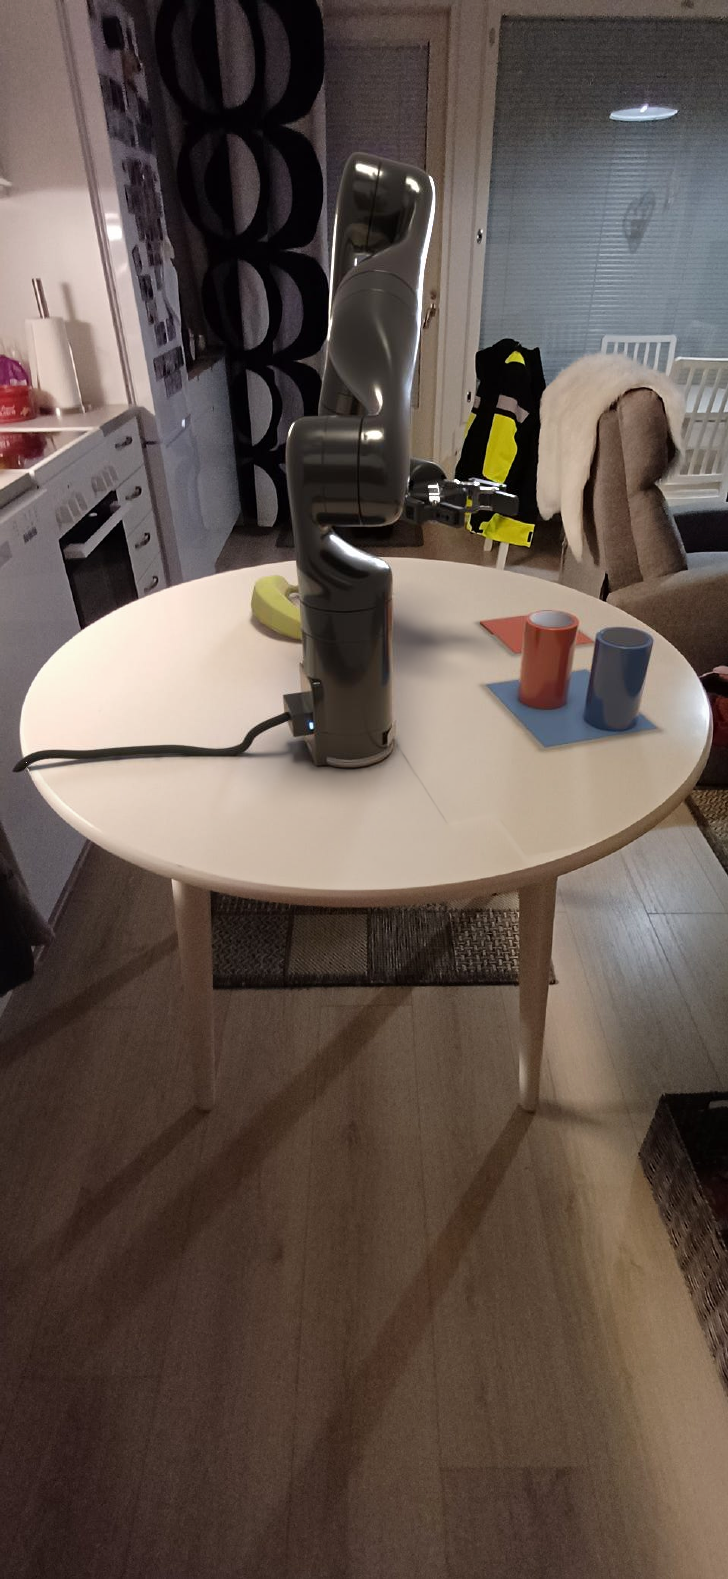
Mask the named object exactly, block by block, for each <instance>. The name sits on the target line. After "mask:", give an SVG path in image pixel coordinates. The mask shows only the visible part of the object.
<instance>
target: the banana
mask: <svg viewBox="0 0 728 1579" xmlns="http://www.w3.org/2000/svg"><path fill="white" fill-rule="evenodd" d="M291 594H299V589H298V585H293V584H290V583H289V582H288V580H287V579H286V578H285V577H284V576H283V575H279V574H272V575H268V576H263V577H260V578H259V579H257V580H256V581H255V583H254V586H253V590H252V596H251V600H250V608H251V611H252V613H253V615H254V616H255V617H256V618H257V619H258V620H259V621H260V622H261V623H262V624H263V625H265V626H266V627H268V628H270V629H271V630H273V631H274V632H276V633H277V634H280V635H282V636H285V637H287V638H291V639H294V640H298V641H299V640H300V641H302V632H301V617H300V607H297V606H296V605H294V603H292V602H291V601H290V600H289V598H290V595H291Z"/></svg>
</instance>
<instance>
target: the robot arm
mask: <svg viewBox="0 0 728 1579" xmlns="http://www.w3.org/2000/svg"><path fill="white" fill-rule="evenodd" d="M435 207H436V191H435V184H434V181H433V178H432V177H431V175H430V174H429V173H428V172H426V170H424V169H422V168H420V167H418V166H416V165H412V164H409V163H405V162H401V161H397V160H393V159H389V158H385V157H381V156H378V155H376V154H375V155H374V154H371V153H367V152H363V151H362V152H361V151H355V152H353V153H351V154H350V155H349V157H348V158H347V160H346V162H345V164H344V167H343V170H342V173H341V177H340V180H339V186H338V190H337V196H336V204H335V210H334V220H333V232H332V233H333V235H332V246H331V258H330V259H331V260H330V276H329V295H328V318H327V319H328V322H327V323H328V324H327V327H328V328H327V336H326V337H327V338H326V354H325V362H324V368H323V374H322V382H321V388H320V395H319V402H318V408H317V409H318V410H317V411H318V412H317V414H318V415H304V416H300V417H298V418H296V419H295V420H294V421H293V422H292V424H291V426H290V427H289V430H288V434H287V437H286V442H285V472H286V473H285V474H286V485H287V495H288V501H289V508H290V517H291V524H292V534H293V543H294V554H295V568H296V576H297V586H298V589H299V593H298V600H299V601H298V602H299V609H300V617H301V632H302V640H301V646H302V660H301V661H300V662H299V665H298V666H299V667H298V668H299V678H300V691H299V692H293V693H286V694H283V695H282V699H283V700H282V701H283V713H281V714H277V715H275V716H273V717H270V718H268V719H266V720H264V721H261V722H260V723H258V724H256V725H255V726H254V727H252V728H251V729H250V730H248V732H247V734H246V735H245V736H244V739H243V740H242V742H241V743H238V744H236V745H233V746H230V747H223V748H214V747H213V748H212V747H202V746H194V745H186V744H152V745H151V744H150V745H132V746H131V745H130V746H117V747H106V748H105V747H104V748H97V749H96V748H95V749H43V750H38V751H35V752H32V753H30V754H27V755H25V756H24V757H22V758H21V759H20V760H19V761H18V762H16V764H15V765H14V767H13V769H12V772H13V773H21V772H24V771H25V769H27V768H28V767H29V766H31V765H33V764H34V763H37V762H41V761H44V760H52V759H55V760H58V759H59V760H94V759H103V758H104V759H105V758H117V757H128V756H143V755H145V756H146V755H147V756H148V755H164V754H165V755H166V754H167V755H168V754H169V755H172V754H176V755H188V756H197V757H233V756H237V755H241V754H243V753H245V752H246V751H248V750H249V748H250V747H251V746H252V744H253V743H254V740H255V739H256V738H257V737H258V736H259V735H261V734H263V733H265V732H267V731H268V730H271V729H272V728H275V727H277V726H280V725H282V724H284V723H287V725H288V727H289V730H290V732H291V734H292V737H293V738H299V737H304V742H305V744H306V746H307V749H308V752H309V754H310V755H311V758H312V760H313V762H314V764H315V765H316V766H317V767H319V766H324V765H325V766H327V765H328V766H332V767H337V768H360V767H365V766H369V765H374V764H376V763H378V762H380V761H382V760H384V759H386V758H387V757H388V756H389V755H390V754H391V753H392V751H393V748H394V737H395V734H396V733H397V719H395V720H394V722H393V692H394V691H393V690H394V689H393V686H394V684H393V683H394V682H393V679H394V678H393V676H394V674H393V672H394V671H393V670H394V669H393V668H394V666H393V665H394V663H393V660H394V658H393V657H394V656H393V653H394V651H393V648H394V640H393V637H394V577H393V576H394V575H393V571H392V568H391V567H390V565H389V563H388V562H386V561H385V560H384V559H383V558H380V557H379V556H377V555H374V554H372V553H370V552H367V551H364V550H362V549H359V548H357V547H355V546H353V545H351V544H350V543H348V542H347V541H346V540H344V539H342V538H341V537H340V535H338V534H337V533H336V532H335V531H334V529H333V528H332V527H367V528H371V527H372V528H373V527H383V526H387V525H392V524H393V523H394V524H395V522H397V520H401V521H404V522H406V523H408V524H409V523H410V524H411V525H415V526H417V527H420V526H424V525H425V524H427V523H428V524H431V525H437V524H441V525H444V526H448V527H451V528H453V529H462V528H464V527H465V524H466V523H465V521H466V514H477V513H478V511H479V510H480V511H481V510H482V511H491V512H495V513H499V514H503V515H506V516H510V517H514V516H517V515H518V514H519V513H518V512H519V505H520V499H519V497H518V496H517V495H514V494H511V493H507V492H506V490H507V485H506V484H504V483H498V482H494V481H490V480H484V479H480V478H476V477H471V478H468V481H459V480H458V479H456V478H447V476H446V474H445V471H444V470H443V469H442V467H441V466H440V465H438V464H437V463H435V462H432V461H429V460H425V459H420V458H416V457H412V456H411V439H412V438H411V437H412V436H411V430H412V428H411V427H412V394H413V385H414V379H415V378H414V377H415V370H416V365H417V357H418V350H419V343H420V336H421V335H420V334H421V323H422V306H423V305H422V304H423V283H424V272H425V266H426V262H427V260H426V259H427V255H428V250H429V246H430V240H431V235H432V229H433V223H434V217H435ZM358 256H362V257H364V256H365V258H363V259H362V260H360V261H359V262H358V263H357V260H358ZM468 500H469V501H471V505H470V506H469V505H467V504H468ZM26 762H27V763H26Z"/></svg>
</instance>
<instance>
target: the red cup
mask: <svg viewBox="0 0 728 1579" xmlns="http://www.w3.org/2000/svg"><path fill="white" fill-rule="evenodd" d="M525 616H526V615H525ZM579 626H580V620H579V618H578V617H577V616H575V615H574V614H572V613H568V612H566V611H561V610H556V609H555V610H554V609H543V610H536V611H532V612H530V613H527V616H526V618H525V626H524V636H523V646H522V653H521V657H520V666H519V676H518V680H519V684H518V694H517V697H518V700H519V701H520V702H521V703H522V704H524V705H526V706H528V707H531V708H535V709H543V710H549V709H557V708H560V707H562V706H564V705H565V704H566V703H567V701H568V695H569V688H570V682H571V675H572V672H573V668H574V666H573V665H574V660H575V653H576V646H577V645H576V640H577V633H578V630H579Z"/></svg>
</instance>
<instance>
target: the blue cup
mask: <svg viewBox="0 0 728 1579" xmlns="http://www.w3.org/2000/svg"><path fill="white" fill-rule="evenodd" d="M654 642H655V641H654V638H653V636H652V635H651V634H650V633H648V632H646V631H644V630H642V629H639V628H634V627H628V626H610V627H604V628H601V629H599V630H598V631H597V632H596V633H595V638H594V643H593V651H592V657H591V664H590V670H589V672H590V675H589V681H588V687H587V694H586V700H585V706H584V712H583V718H584V720H585V721H586V722H587V723H588V724H589V725H591V726H593V727H595V728H598V729H601V730H606V731H625V730H629V729H631V728H633V727H634V726H635V725H636V724H637V720H638V715H639V713H640V709H641V704H642V699H643V696H644V695H643V694H644V690H645V685H646V681H647V676H648V670H649V665H650V660H651V655H652V651H653V645H654Z"/></svg>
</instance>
